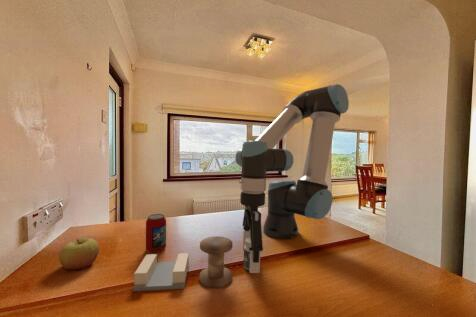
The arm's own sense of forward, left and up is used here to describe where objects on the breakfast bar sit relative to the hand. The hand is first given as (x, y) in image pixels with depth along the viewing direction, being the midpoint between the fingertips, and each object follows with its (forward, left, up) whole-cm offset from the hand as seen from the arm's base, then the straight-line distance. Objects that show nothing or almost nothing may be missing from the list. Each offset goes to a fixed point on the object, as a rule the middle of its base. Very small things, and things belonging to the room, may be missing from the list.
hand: (250, 260), depth 66 cm
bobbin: (+11, +5, -2) cm, 12 cm away
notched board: (+25, +3, -2) cm, 25 cm away
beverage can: (+32, -14, -2) cm, 35 cm away
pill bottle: (0, 0, -2) cm, 2 cm away
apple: (+52, -5, -3) cm, 52 cm away
